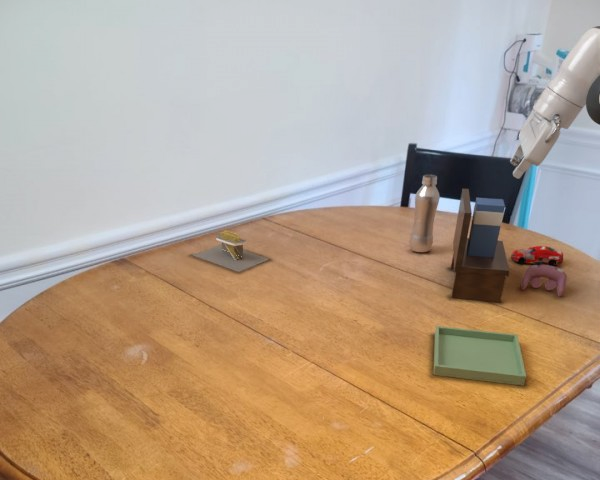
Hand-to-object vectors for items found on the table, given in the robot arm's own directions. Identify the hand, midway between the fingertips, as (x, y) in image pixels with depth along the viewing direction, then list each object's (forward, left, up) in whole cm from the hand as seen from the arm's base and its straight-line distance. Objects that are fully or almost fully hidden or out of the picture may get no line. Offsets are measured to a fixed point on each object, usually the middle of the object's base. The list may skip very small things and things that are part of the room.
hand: (513, 170), depth 128 cm
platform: (+68, +2, -26) cm, 73 cm away
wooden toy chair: (+4, +5, -26) cm, 27 cm away
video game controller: (-12, +5, -26) cm, 29 cm away
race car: (-13, -14, -26) cm, 32 cm away
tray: (+5, +42, -26) cm, 50 cm away
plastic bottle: (+18, -15, -26) cm, 35 cm away
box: (+4, +5, -18) cm, 19 cm away
